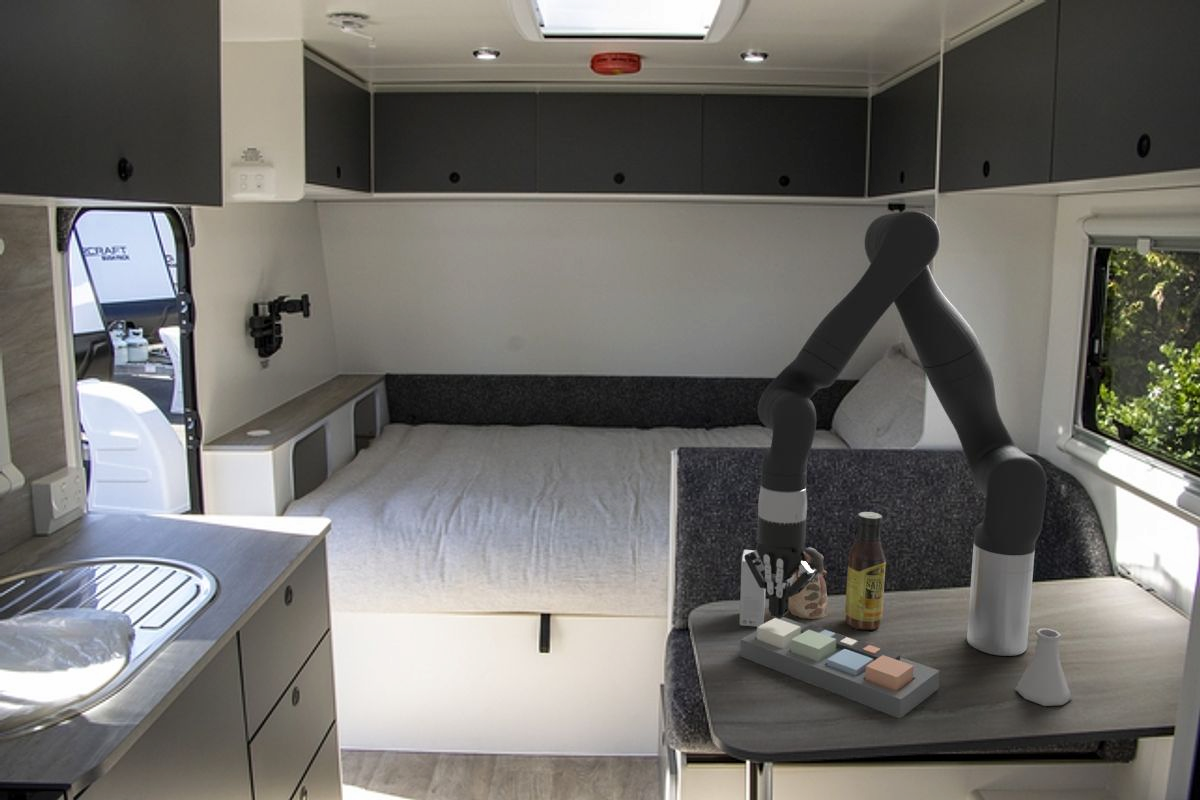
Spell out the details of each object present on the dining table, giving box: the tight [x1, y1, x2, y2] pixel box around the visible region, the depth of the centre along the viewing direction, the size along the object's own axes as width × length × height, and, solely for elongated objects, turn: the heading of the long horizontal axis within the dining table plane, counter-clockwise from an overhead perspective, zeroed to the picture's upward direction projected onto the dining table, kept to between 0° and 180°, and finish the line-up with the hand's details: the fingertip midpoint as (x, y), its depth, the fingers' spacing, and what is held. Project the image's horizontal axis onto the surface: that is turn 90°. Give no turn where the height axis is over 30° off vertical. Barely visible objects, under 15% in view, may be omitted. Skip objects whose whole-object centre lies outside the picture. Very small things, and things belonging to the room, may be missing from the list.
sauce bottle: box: [844, 511, 887, 631], centre depth 166 cm, size 6×6×20 cm
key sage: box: [791, 630, 836, 662], centre depth 151 cm, size 5×5×2 cm
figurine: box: [788, 546, 829, 620], centre depth 172 cm, size 7×7×12 cm
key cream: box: [756, 617, 801, 649], centre depth 155 cm, size 5×5×2 cm
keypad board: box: [739, 616, 941, 720], centre depth 150 cm, size 12×28×4 cm, turn 45°
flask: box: [1014, 627, 1072, 707], centre depth 142 cm, size 7×7×10 cm
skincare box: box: [739, 549, 767, 628], centre depth 169 cm, size 6×4×12 cm
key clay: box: [865, 655, 914, 692], centre depth 142 cm, size 5×5×2 cm
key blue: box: [827, 649, 873, 676], centre depth 147 cm, size 5×5×2 cm
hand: (778, 616), depth 155 cm, fingers closed
